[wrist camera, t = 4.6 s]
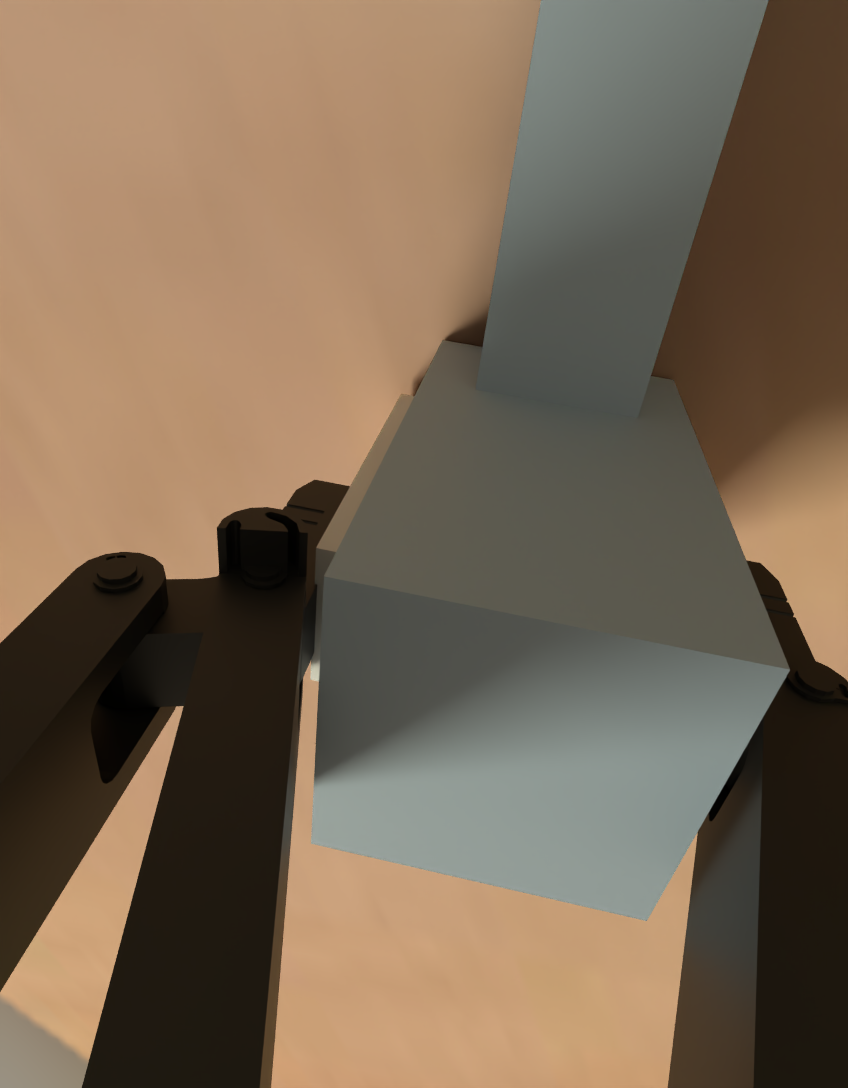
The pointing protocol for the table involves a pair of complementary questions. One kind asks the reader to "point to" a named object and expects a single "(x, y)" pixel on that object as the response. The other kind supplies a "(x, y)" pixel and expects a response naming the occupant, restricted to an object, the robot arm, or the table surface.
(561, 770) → the push stick
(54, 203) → the table surface
